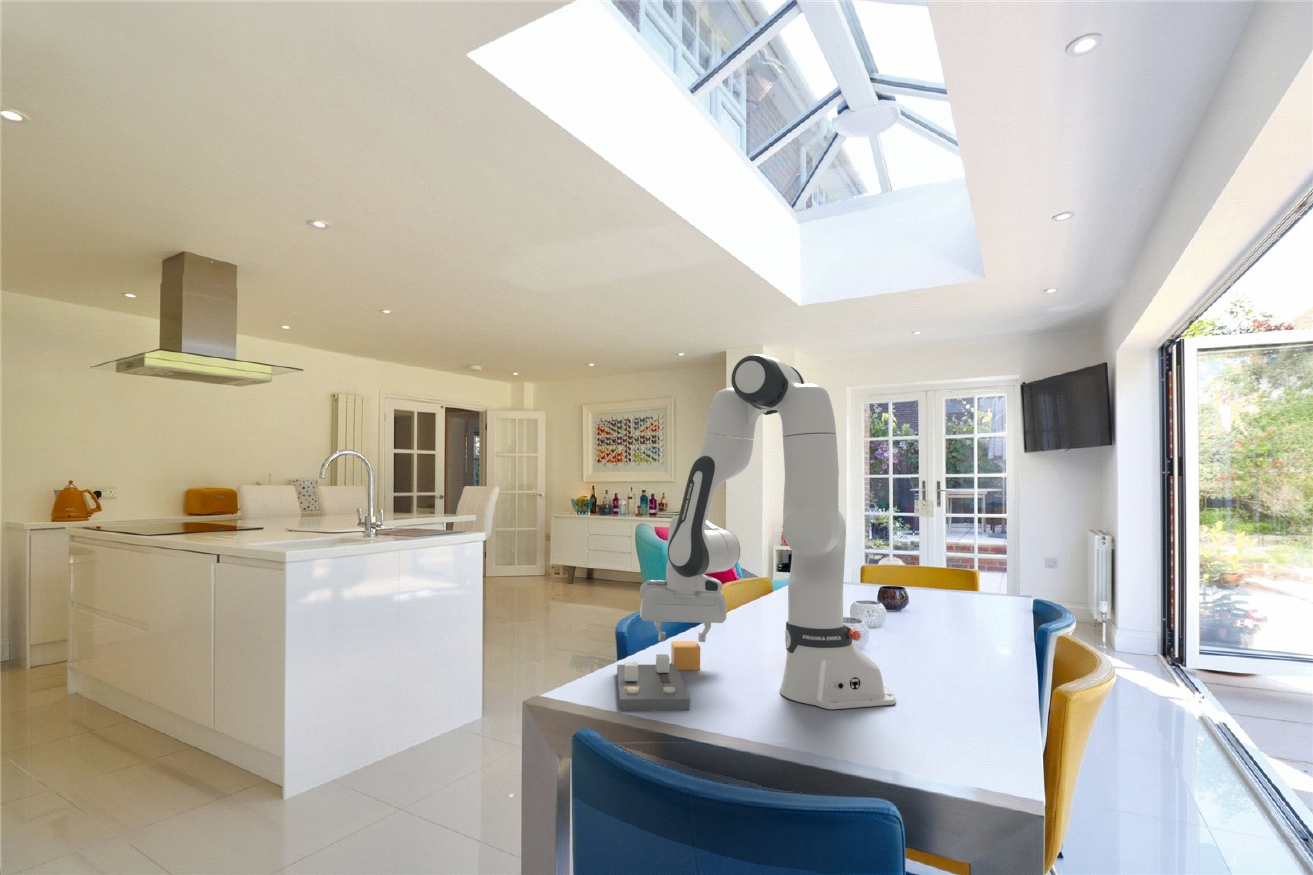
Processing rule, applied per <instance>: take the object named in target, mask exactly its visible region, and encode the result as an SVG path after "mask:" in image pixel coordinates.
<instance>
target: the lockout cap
mask: <svg viewBox="0 0 1313 875" xmlns="http://www.w3.org/2000/svg"><path fill="white" fill-rule="evenodd" d="M670 648H671V650H670V651H671V652H670V653H671V656H670V658H671V659H670V661H671V662H670V663H671V664H670V665H672V664H676V667H677V669H678V671H701V647H700V645H699V642H698V640H697V641H696V640H695V641H685V640H684V641H683V640H682V641H671V647H670Z"/></svg>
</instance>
